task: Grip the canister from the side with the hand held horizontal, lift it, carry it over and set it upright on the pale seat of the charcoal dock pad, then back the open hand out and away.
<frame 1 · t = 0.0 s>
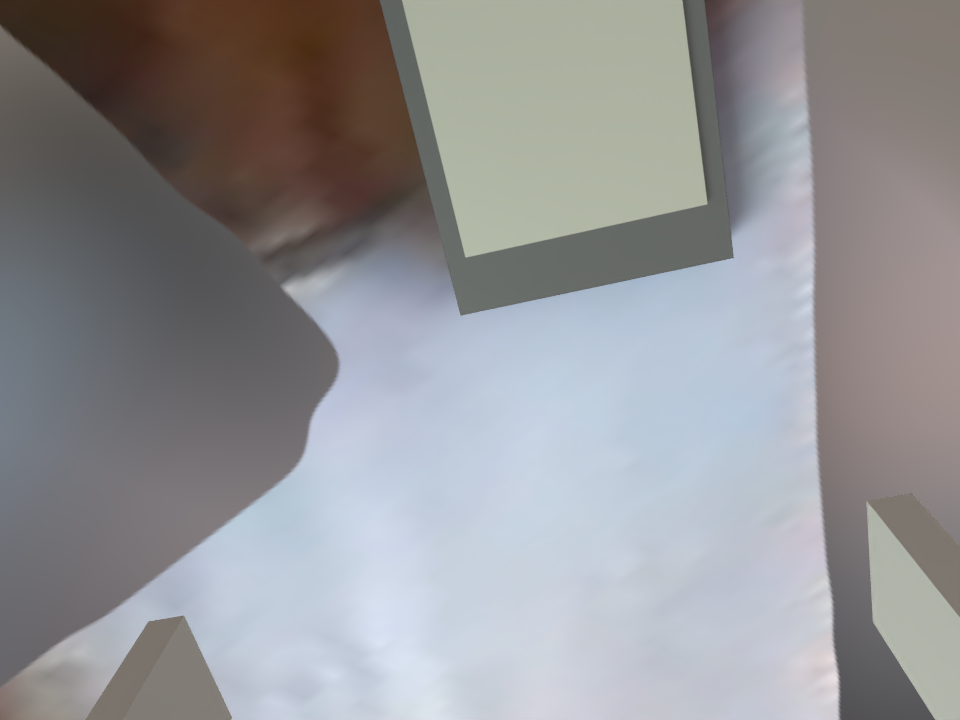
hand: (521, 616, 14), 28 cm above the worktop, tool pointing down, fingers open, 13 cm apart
dock: (557, 102, 37), on the worktop
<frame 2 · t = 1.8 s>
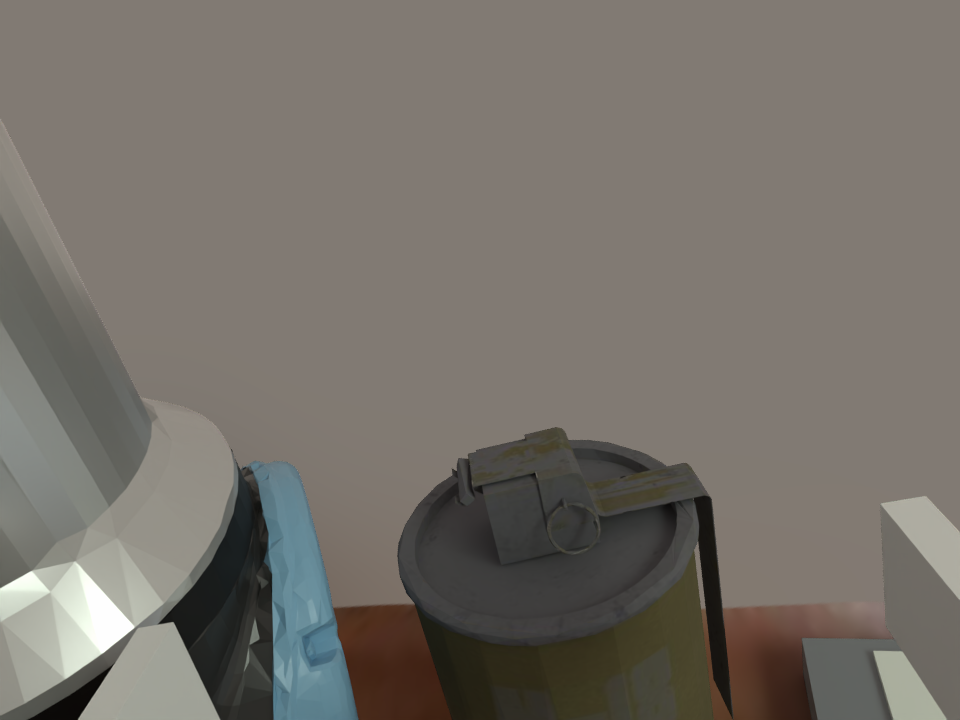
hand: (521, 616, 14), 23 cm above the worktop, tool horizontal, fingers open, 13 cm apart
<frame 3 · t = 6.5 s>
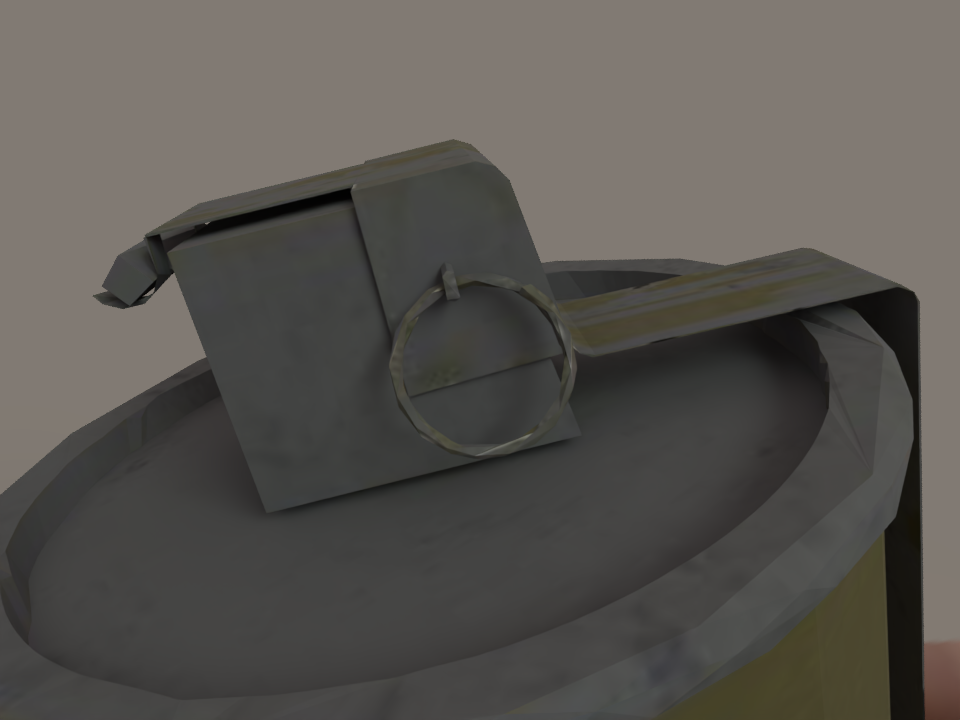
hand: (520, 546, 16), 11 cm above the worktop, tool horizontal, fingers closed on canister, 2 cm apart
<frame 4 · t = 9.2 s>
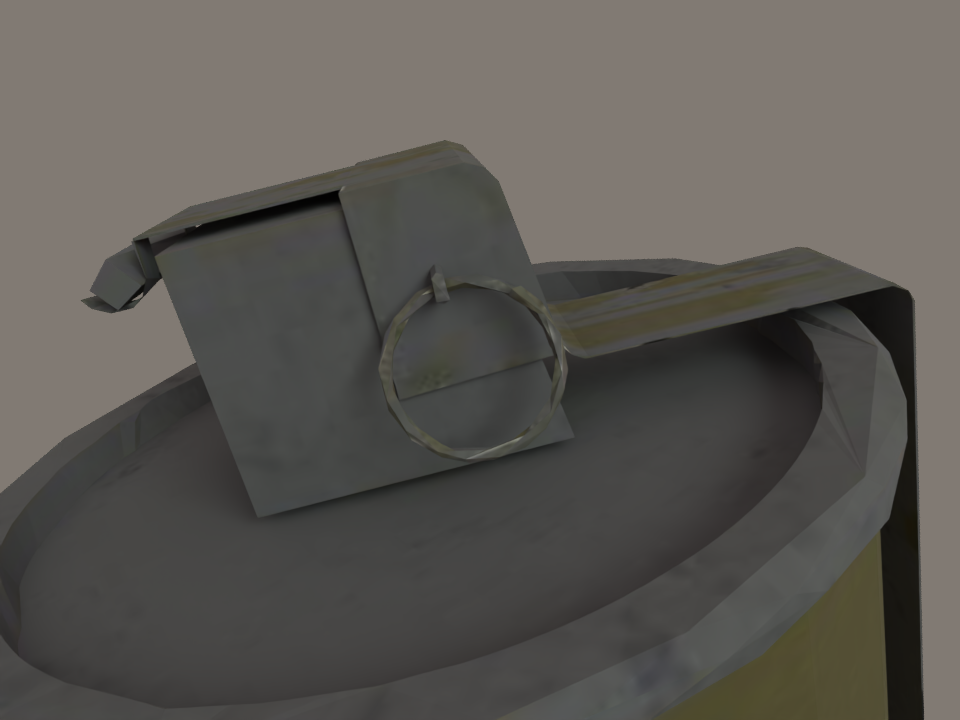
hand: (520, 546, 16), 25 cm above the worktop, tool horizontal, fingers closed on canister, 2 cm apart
when the fingers open (15 cm above the worktop, at t = 11.7 s): canister drops 2 cm, resting on dock.
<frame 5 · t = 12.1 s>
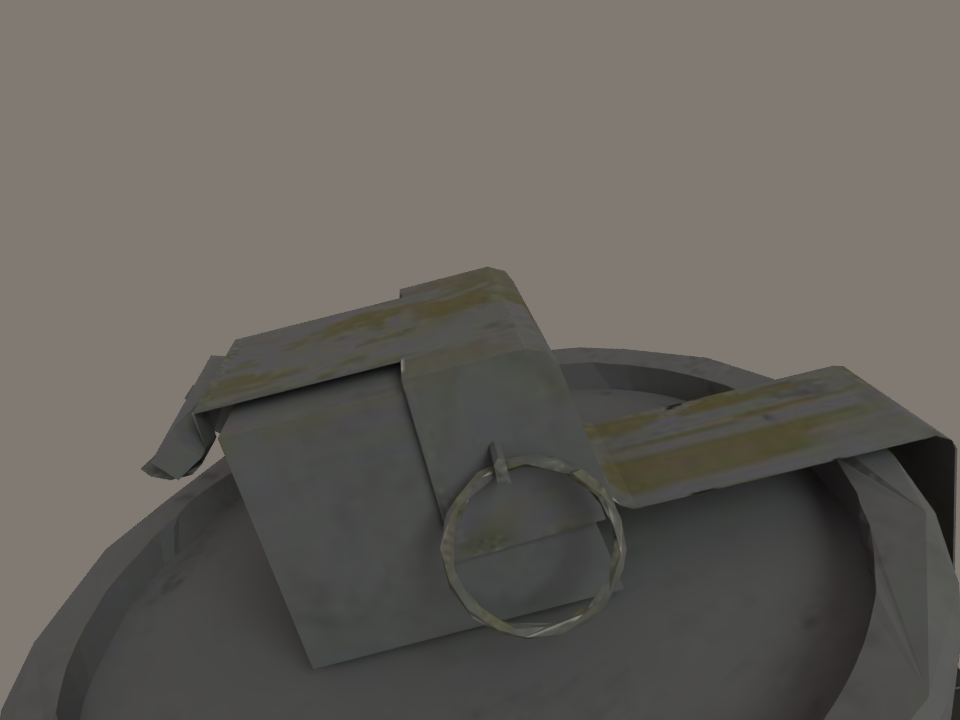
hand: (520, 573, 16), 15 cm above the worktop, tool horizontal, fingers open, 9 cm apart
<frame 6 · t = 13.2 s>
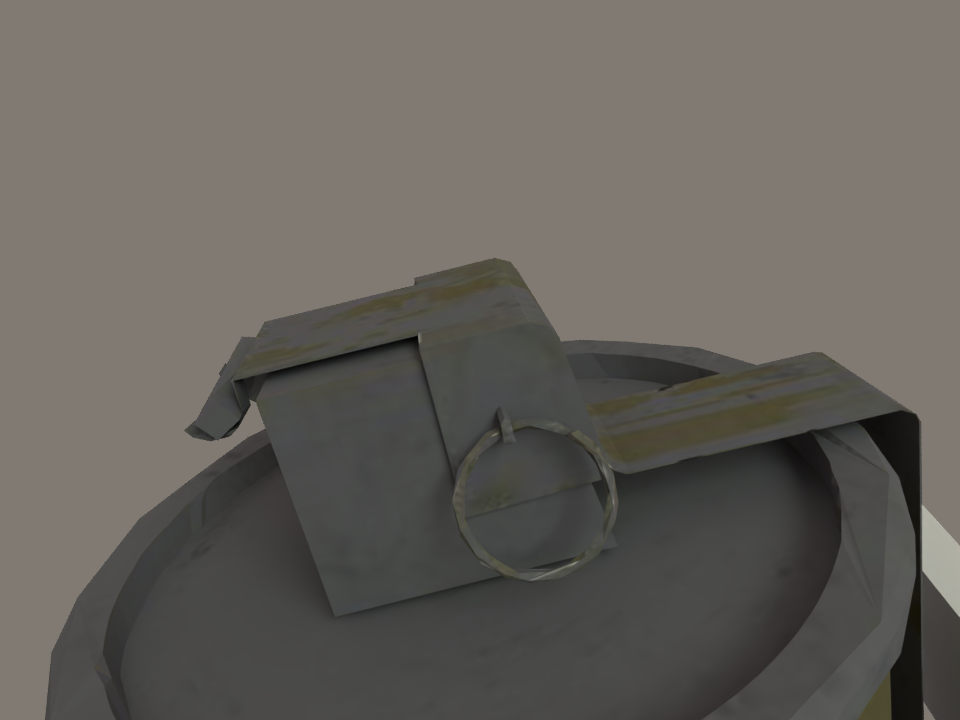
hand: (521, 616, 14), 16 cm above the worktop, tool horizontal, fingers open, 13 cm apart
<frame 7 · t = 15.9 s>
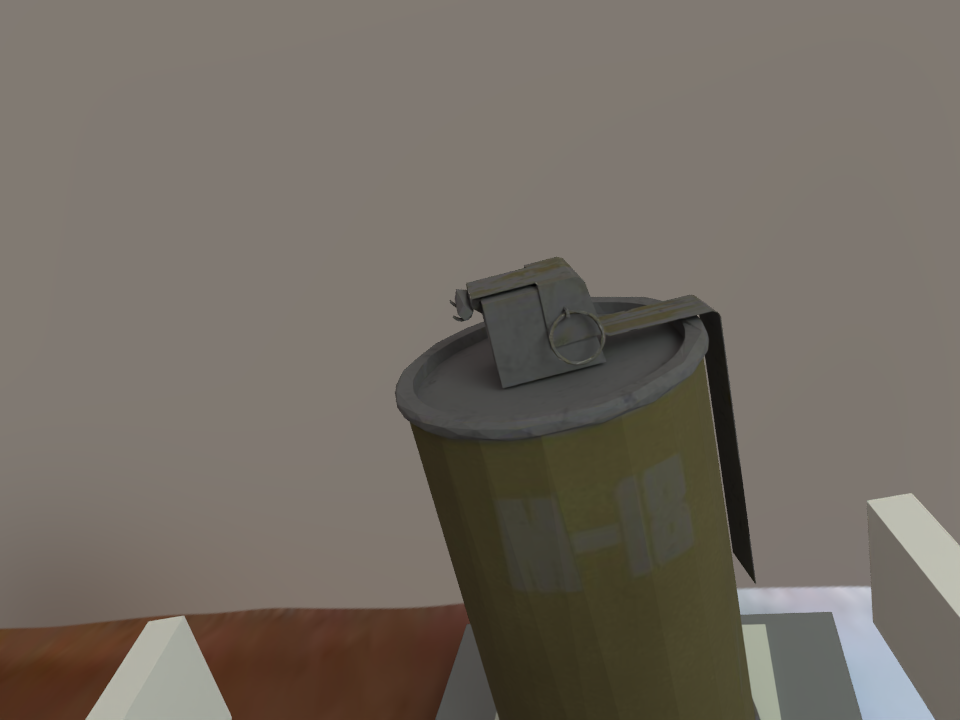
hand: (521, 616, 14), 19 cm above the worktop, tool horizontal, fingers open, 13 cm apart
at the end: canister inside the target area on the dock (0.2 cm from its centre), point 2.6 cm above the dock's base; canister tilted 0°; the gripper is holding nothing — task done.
